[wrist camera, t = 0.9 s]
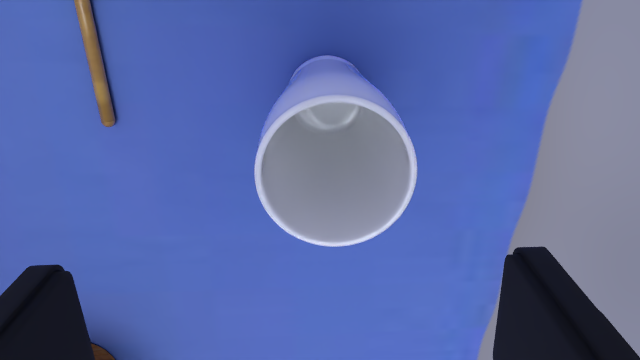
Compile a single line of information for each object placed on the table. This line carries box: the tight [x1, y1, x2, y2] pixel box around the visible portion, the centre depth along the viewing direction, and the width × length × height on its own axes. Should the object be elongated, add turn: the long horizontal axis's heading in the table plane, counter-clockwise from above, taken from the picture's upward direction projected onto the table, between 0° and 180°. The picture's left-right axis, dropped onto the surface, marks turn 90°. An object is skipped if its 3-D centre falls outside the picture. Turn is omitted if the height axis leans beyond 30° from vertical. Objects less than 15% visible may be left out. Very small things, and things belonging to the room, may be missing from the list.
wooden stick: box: [74, 0, 115, 127], centre depth 31 cm, size 15×1×1 cm, turn 3°
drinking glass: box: [254, 55, 417, 247], centre depth 27 cm, size 7×7×15 cm
